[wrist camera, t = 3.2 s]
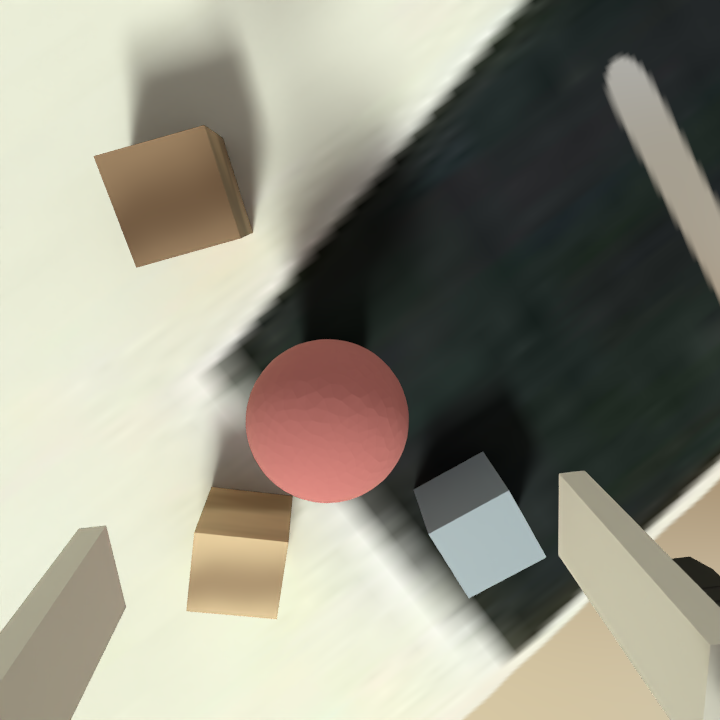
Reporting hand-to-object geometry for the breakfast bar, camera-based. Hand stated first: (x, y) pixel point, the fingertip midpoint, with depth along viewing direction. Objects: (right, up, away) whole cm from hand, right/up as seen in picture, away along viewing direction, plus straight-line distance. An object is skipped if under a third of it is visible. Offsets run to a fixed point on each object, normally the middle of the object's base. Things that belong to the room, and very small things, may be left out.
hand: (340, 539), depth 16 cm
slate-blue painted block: (+7, -4, +20) cm, 22 cm away
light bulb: (-1, +5, +17) cm, 18 cm away
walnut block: (-8, +14, +14) cm, 21 cm away
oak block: (-7, -5, +19) cm, 21 cm away
